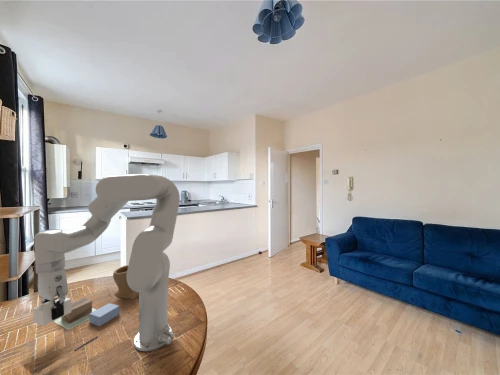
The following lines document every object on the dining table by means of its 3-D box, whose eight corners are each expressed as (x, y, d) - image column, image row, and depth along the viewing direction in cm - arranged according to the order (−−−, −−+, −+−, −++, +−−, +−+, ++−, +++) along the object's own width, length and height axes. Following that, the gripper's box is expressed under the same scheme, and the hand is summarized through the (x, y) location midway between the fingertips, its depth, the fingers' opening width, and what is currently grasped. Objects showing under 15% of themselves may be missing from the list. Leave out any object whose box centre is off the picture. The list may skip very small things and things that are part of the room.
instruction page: (98, 337, 75) (98, 337, 75) (75, 351, 69) (75, 351, 69) (84, 330, 79) (84, 329, 79) (61, 342, 73) (61, 342, 73)
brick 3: (119, 317, 87) (119, 305, 87) (99, 329, 80) (99, 317, 79) (109, 314, 89) (109, 302, 89) (89, 326, 82) (89, 313, 82)
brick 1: (71, 312, 76) (70, 298, 76) (43, 326, 68) (42, 311, 68) (62, 308, 78) (61, 296, 78) (33, 322, 71) (33, 308, 71)
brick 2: (92, 312, 88) (92, 300, 88) (69, 323, 81) (69, 311, 81) (84, 308, 91) (84, 297, 91) (61, 319, 83) (61, 307, 83)
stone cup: (107, 299, 100) (107, 269, 100) (128, 288, 111) (128, 260, 111) (131, 305, 96) (131, 273, 95) (150, 292, 107) (150, 264, 107)
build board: (102, 315, 88) (102, 312, 88) (68, 333, 77) (68, 330, 77) (84, 306, 94) (84, 304, 94) (50, 322, 83) (50, 319, 83)
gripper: (76, 264, 73) (78, 314, 73) (52, 258, 80) (54, 304, 80) (49, 273, 66) (51, 328, 66) (25, 266, 73) (27, 315, 73)
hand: (53, 314), depth 73 cm, fingers closed on brick 1, 6 cm apart
